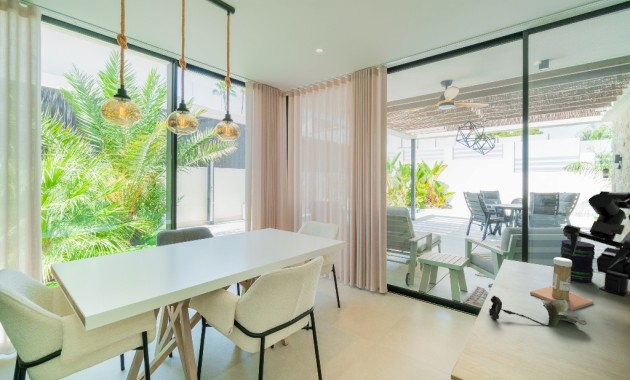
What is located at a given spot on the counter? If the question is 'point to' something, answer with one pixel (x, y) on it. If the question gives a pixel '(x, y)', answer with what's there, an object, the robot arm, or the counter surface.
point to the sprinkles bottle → (561, 278)
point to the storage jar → (579, 260)
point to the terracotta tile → (546, 294)
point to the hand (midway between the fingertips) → (589, 261)
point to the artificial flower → (551, 307)
